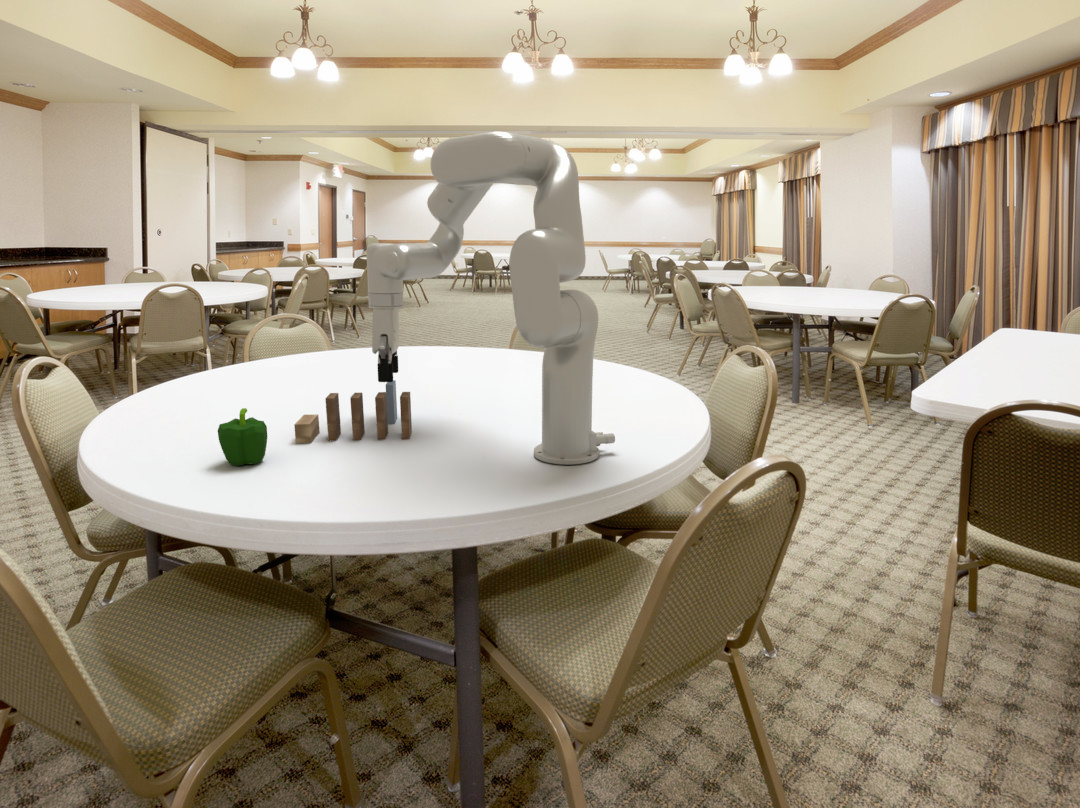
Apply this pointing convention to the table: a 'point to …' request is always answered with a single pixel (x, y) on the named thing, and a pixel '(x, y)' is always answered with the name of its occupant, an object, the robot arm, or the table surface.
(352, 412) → the walnut tile
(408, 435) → the walnut tile
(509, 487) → the table surface
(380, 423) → the walnut tile
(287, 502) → the table surface
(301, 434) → the oak end block
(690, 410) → the table surface
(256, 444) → the bell pepper
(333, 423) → the walnut tile
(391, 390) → the blue grey rectangular block
